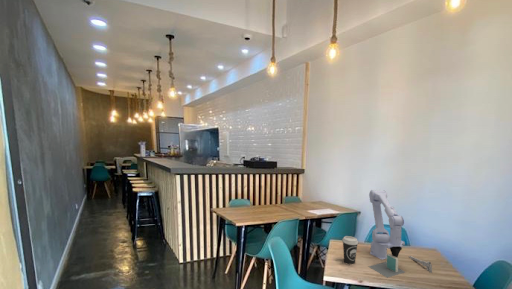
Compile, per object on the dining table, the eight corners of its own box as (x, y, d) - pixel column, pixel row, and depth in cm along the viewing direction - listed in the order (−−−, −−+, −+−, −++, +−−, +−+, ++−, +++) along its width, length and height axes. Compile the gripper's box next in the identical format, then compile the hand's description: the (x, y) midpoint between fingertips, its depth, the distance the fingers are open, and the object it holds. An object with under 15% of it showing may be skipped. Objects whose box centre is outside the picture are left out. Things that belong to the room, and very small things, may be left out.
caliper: (432, 273, 143) (432, 263, 143) (430, 273, 143) (430, 263, 143) (409, 257, 163) (410, 248, 163) (408, 257, 163) (408, 248, 163)
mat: (368, 267, 147) (368, 266, 147) (385, 262, 154) (385, 261, 154) (387, 278, 136) (387, 277, 136) (405, 272, 142) (405, 272, 142)
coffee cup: (357, 260, 155) (358, 237, 155) (357, 267, 147) (358, 242, 147) (342, 257, 159) (342, 234, 159) (340, 263, 151) (341, 239, 151)
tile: (386, 267, 147) (386, 254, 147) (388, 266, 148) (389, 253, 148) (395, 272, 142) (396, 258, 141) (398, 271, 142) (398, 258, 142)
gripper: (393, 240, 139) (393, 263, 139) (409, 236, 145) (409, 259, 145) (382, 235, 145) (382, 258, 145) (398, 232, 151) (397, 253, 151)
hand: (394, 258), depth 145 cm, fingers closed
